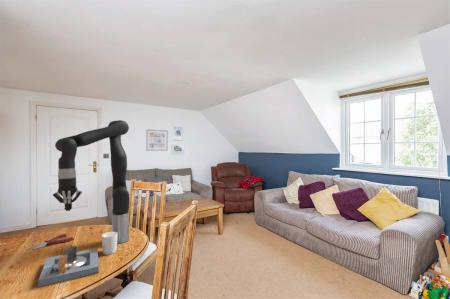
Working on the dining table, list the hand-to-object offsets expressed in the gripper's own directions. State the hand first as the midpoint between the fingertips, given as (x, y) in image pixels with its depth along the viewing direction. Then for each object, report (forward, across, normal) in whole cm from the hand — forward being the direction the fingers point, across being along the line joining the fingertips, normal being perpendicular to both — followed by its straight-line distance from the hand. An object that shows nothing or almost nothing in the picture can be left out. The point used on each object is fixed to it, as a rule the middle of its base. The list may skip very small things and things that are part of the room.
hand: (68, 210), depth 117 cm
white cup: (+27, -18, -4) cm, 32 cm away
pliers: (+26, +18, -28) cm, 42 cm away
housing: (+26, -4, +10) cm, 28 cm away
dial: (+25, -4, +12) cm, 28 cm away
